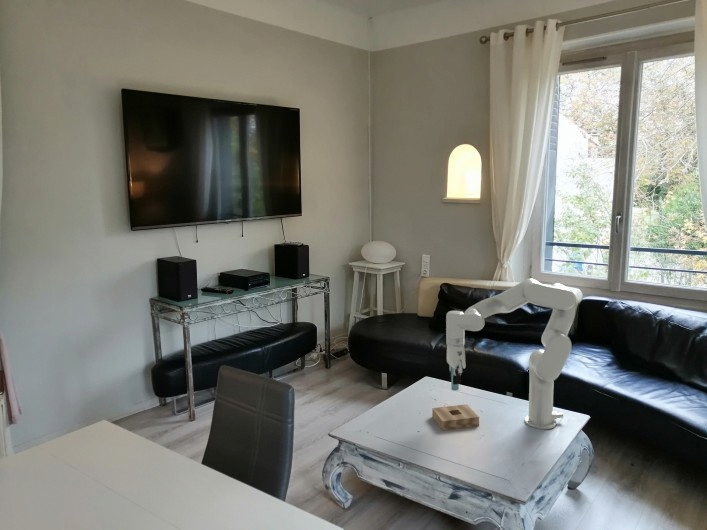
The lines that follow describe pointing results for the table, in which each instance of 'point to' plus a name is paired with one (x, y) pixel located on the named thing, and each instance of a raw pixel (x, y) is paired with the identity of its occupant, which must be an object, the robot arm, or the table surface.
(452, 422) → the hole block
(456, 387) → the peg
